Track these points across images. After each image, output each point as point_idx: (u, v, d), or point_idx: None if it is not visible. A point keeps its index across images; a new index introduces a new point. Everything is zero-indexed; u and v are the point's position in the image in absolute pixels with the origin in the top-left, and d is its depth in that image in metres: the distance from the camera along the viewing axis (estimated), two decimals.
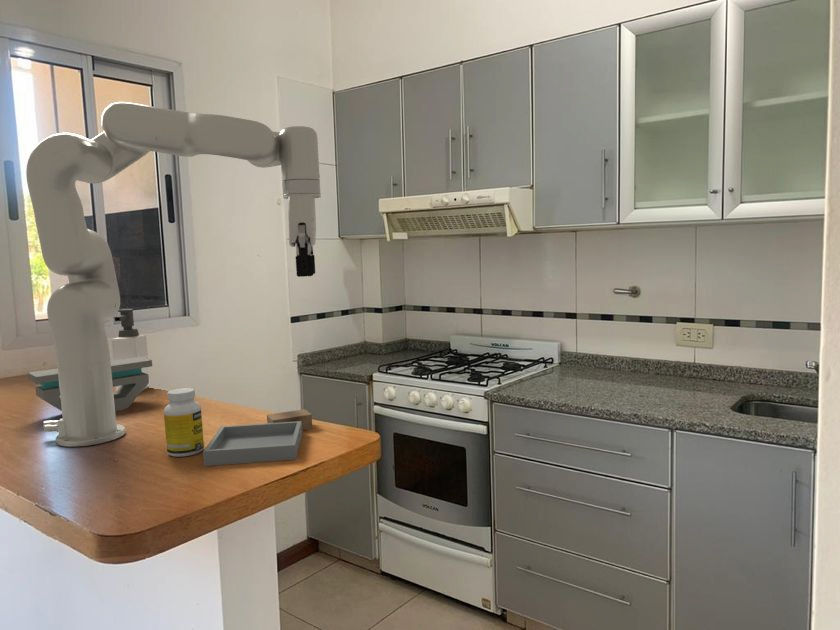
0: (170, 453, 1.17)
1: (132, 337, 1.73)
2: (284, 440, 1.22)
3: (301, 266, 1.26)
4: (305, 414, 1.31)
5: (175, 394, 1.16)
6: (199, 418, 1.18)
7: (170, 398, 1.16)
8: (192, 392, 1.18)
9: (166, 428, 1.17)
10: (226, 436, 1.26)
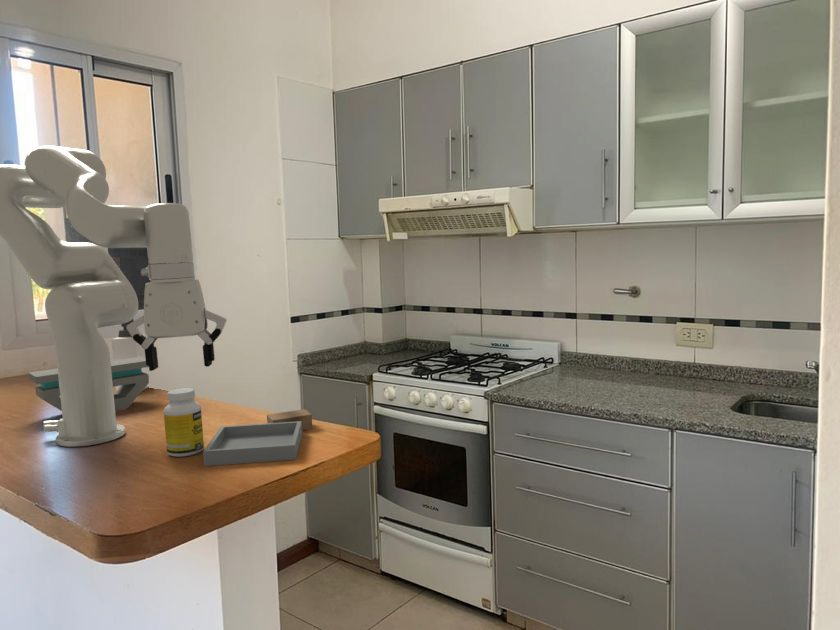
0: (170, 453, 1.17)
1: (132, 337, 1.73)
2: (284, 440, 1.22)
3: (212, 354, 1.17)
4: (305, 414, 1.31)
5: (175, 394, 1.16)
6: (199, 418, 1.18)
7: (170, 398, 1.16)
8: (192, 392, 1.18)
9: (166, 428, 1.17)
10: (226, 436, 1.26)
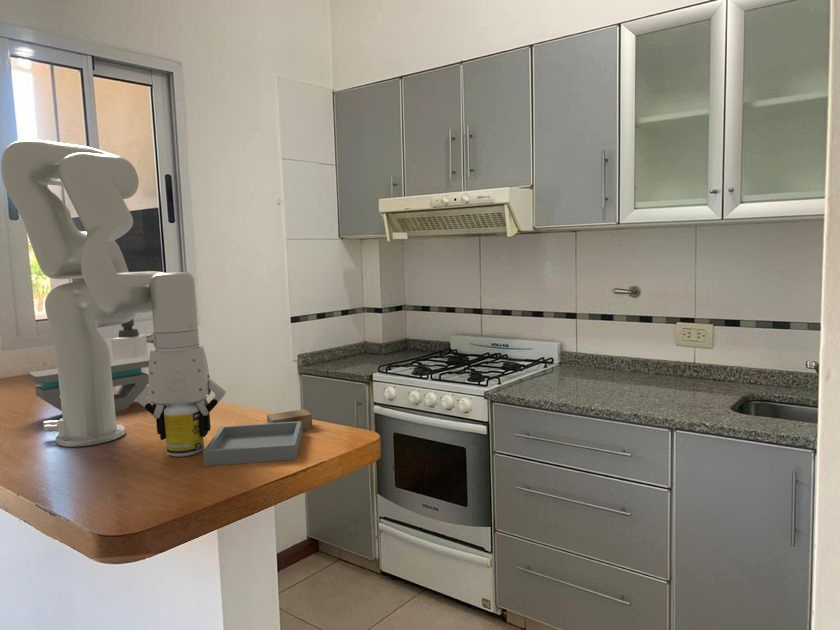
0: (170, 453, 1.17)
1: (132, 337, 1.73)
2: (284, 440, 1.22)
3: (208, 424, 1.19)
4: (305, 414, 1.31)
5: None
6: None
7: None
8: None
9: (166, 428, 1.17)
10: (226, 436, 1.26)
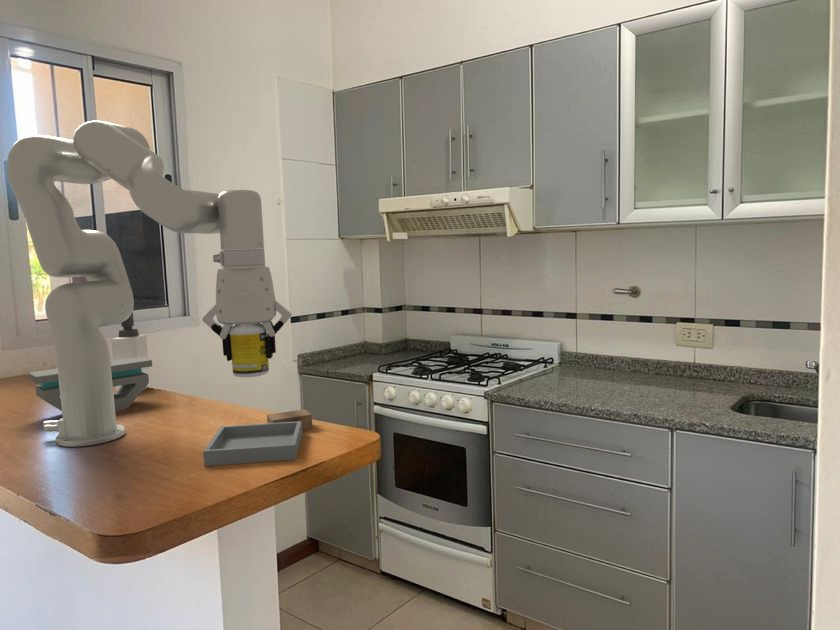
0: (237, 373, 1.15)
1: (132, 337, 1.73)
2: (284, 440, 1.22)
3: (274, 346, 1.18)
4: (305, 414, 1.31)
5: None
6: (265, 339, 1.17)
7: None
8: None
9: (233, 348, 1.15)
10: (226, 436, 1.26)
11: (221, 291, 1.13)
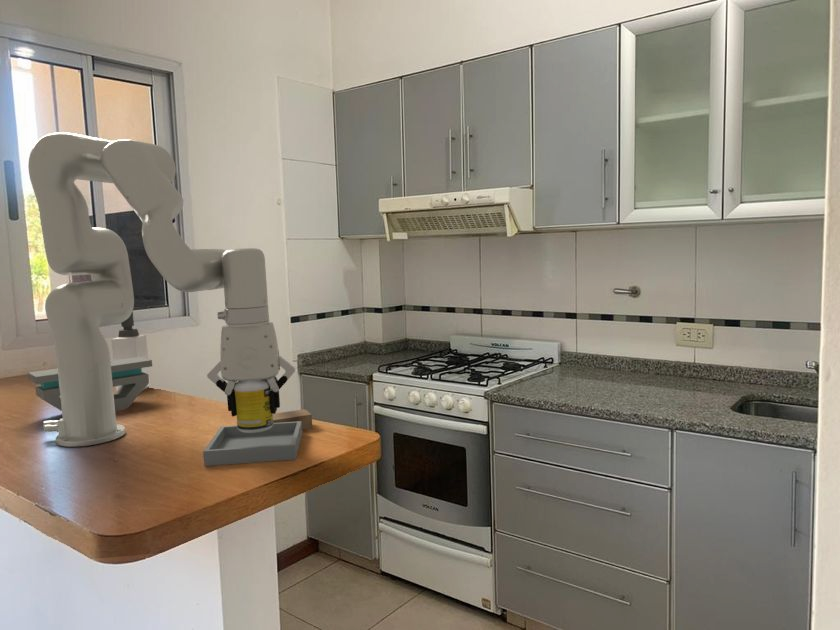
0: (241, 429, 1.16)
1: (132, 337, 1.73)
2: (284, 440, 1.22)
3: (278, 401, 1.19)
4: (305, 414, 1.31)
5: None
6: (269, 394, 1.18)
7: None
8: None
9: (237, 404, 1.16)
10: (226, 436, 1.26)
11: (226, 349, 1.15)
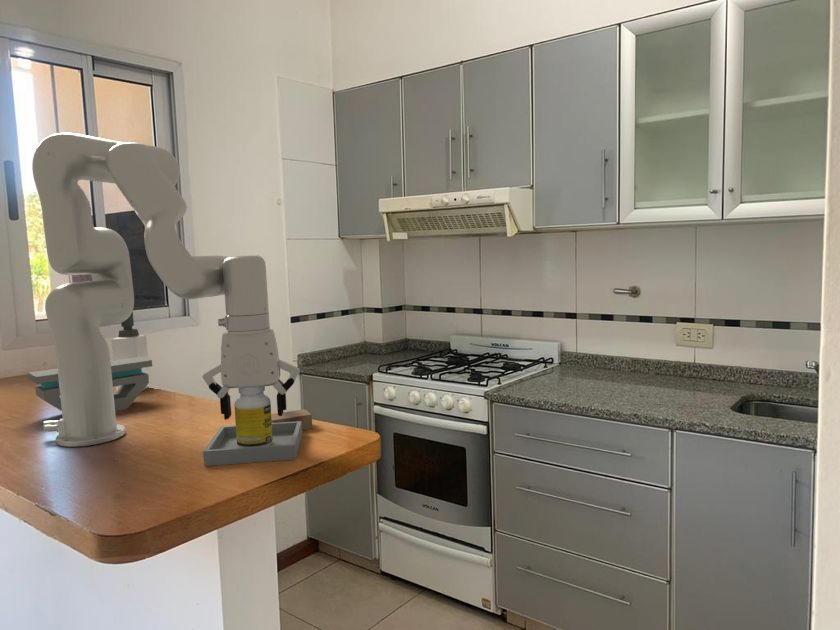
0: (241, 446, 1.17)
1: (132, 337, 1.73)
2: (284, 440, 1.22)
3: (285, 404, 1.19)
4: (305, 414, 1.31)
5: (247, 387, 1.16)
6: (269, 411, 1.18)
7: (242, 391, 1.17)
8: None
9: (237, 421, 1.17)
10: (226, 436, 1.26)
11: (226, 356, 1.15)
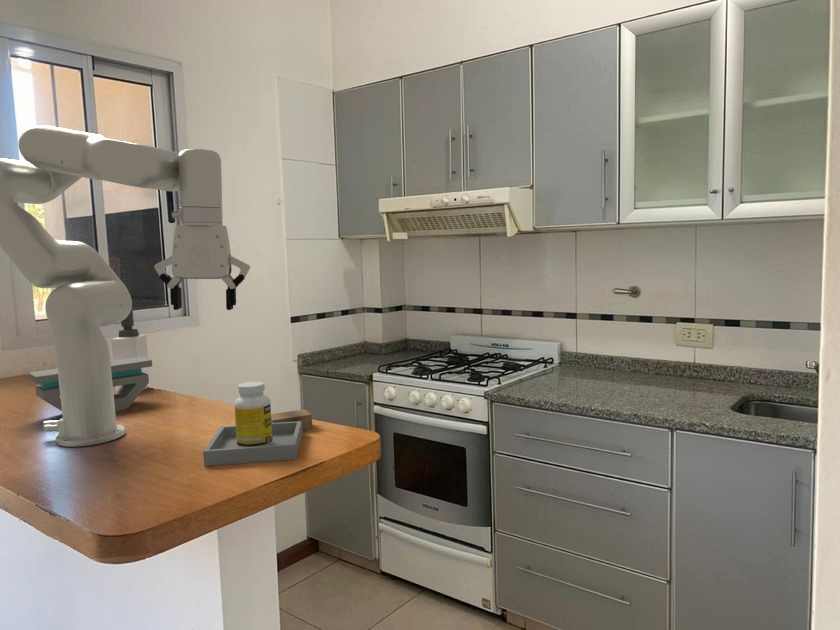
0: (241, 446, 1.17)
1: (132, 337, 1.73)
2: (284, 440, 1.22)
3: (234, 299, 1.22)
4: (305, 414, 1.31)
5: (247, 387, 1.16)
6: (269, 411, 1.19)
7: (241, 391, 1.17)
8: (262, 385, 1.18)
9: (237, 421, 1.17)
10: (226, 436, 1.26)
11: (177, 246, 1.18)
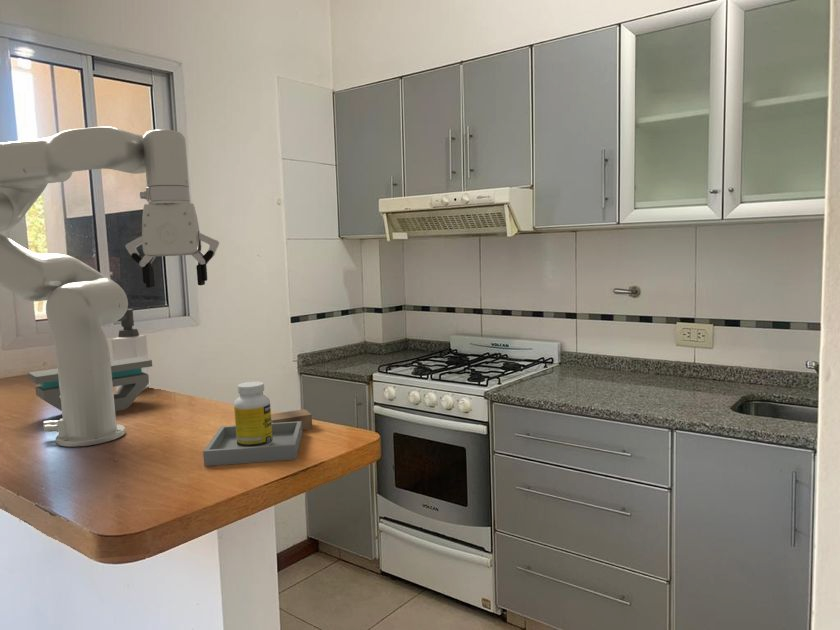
0: (241, 446, 1.17)
1: (132, 337, 1.73)
2: (284, 440, 1.22)
3: (205, 274, 1.26)
4: (305, 414, 1.31)
5: (246, 387, 1.16)
6: (269, 411, 1.19)
7: (241, 391, 1.17)
8: (262, 385, 1.18)
9: (237, 421, 1.17)
10: (226, 436, 1.26)
11: (146, 225, 1.21)
